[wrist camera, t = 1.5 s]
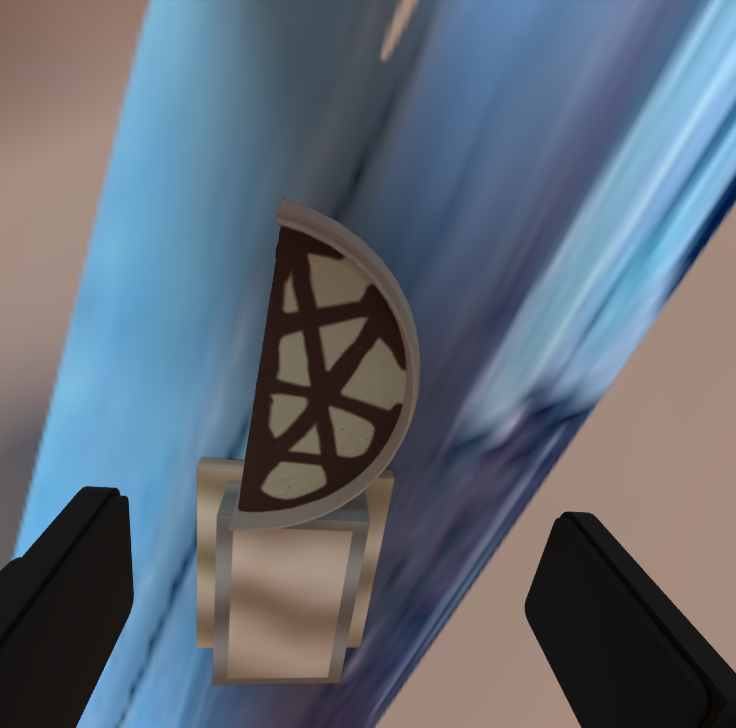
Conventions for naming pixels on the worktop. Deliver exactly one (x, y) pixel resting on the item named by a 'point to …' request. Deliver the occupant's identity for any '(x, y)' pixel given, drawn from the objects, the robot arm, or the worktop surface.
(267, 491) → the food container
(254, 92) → the worktop surface
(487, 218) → the worktop surface
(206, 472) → the beige rectangular frame
